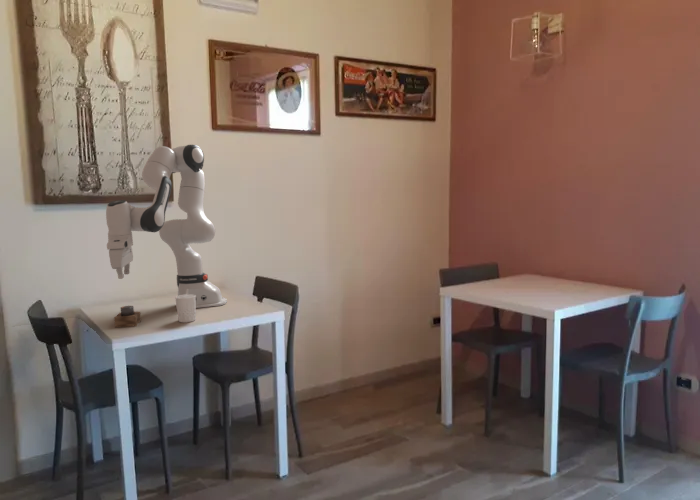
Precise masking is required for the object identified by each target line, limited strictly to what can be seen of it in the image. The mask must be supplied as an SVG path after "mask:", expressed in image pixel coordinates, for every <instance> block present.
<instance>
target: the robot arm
mask: <svg viewBox="0 0 700 500" xmlns="http://www.w3.org/2000/svg"><path fill="white" fill-rule="evenodd" d="M204 163H205V155H204V151H203V150H202V148H201V147H200V146H199V145H196V144H187V145H180V146H177V147H173V148H170V147H168V146H165V145H162V146H161V145H160V146H157V148H155V149H154V150H153V152H152V153H151V155H150V156H149V158H148V159H147V161H146V163H145V165H144V167H143V169H142V173H141V176H142V177H141V178H142V180H143V181H144V183H145V184H146V185H147V186H148V188H149V187H150V188H151V189H152V190H155V193H154V196H153V200H152V203H151V205H150V206H147V207H135V206H133V205H131V204H129V203H128V201H127V200H125V199H119V200H113V201H110V202H109V203H107V206H106V211H105V216H106V217H105V218H106V219H105V220H106V225H107V228H108V232H107V244H106V250H108V257H109V262H110V267H111V269H112V270H116V273H117V277H118V279H120V280H122V279H124V277H125V276H124V275H129V274H130V273H131V272H130V269H131V263H132V262H133V260H134V254H133V248H132V246H133V245H134V241H133V232H147V233H157V232H158V233H159V236H160V239H161V241H163V242H164V243H166V245H168V247H170V249H171V250H172V253H173V255H174V258H175V263H176V269H177V271H176V272H177V274H176V286H177V296H179V295H185V294H193V295H196V309H199V308H208V307H209V308H211V307H218V306H219V307H220V306H223V305H225V304H227V301H228V299H227V297H224V296H222V293H221V292H222V291H221V290H220V288H219V287H218V286H217V285H215V284H213V283H212V282H211V281H209V277H208V274H207V273H205V272H203V271H204V270H203V257H202V255H201V254H200V253H199V252H197V251H195V250H194V249H193V248H192V247H191V244H205V243H209V242H211V241H213V239H214V238H215V235H216V228H215V225H214V223H213V222H212V221H211V220H210V219H209V218H208V217H207V215H206V213H205V209H204V200H205V189H206V184H205V183H206V180H205V179H206V178H205V173H204V171H203V170H202V169H203V167H204ZM175 173H180V178H181V179H180V183H179V184H180V185H179V191H178V200H177V206H178V207H179V209H180V210H181V211H183V212H184V213H186V214H187V215H186V219H185V218H184V219H182V218H181V219H178V218H177V219H176V218H175V219H170V220H166V211H167V208H168V205H169V202H170V201H169V200H170V196H171V193H172V185H173V183H172V181H171V175H172V174H175Z"/></svg>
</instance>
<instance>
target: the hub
mask: <svg viewBox="0 0 700 500" xmlns="http://www.w3.org/2000/svg"><path fill="white" fill-rule="evenodd" d="M141 316H142V315H141V311H134V314H133V315H130V316H121V312H119V313H118V314H117V315H115V316H114V318H113V319H114V328H127V327H128V328H129V327H137V326H138V325H139V323H140V322H141V320H142V319H141V318H142V317H141Z"/></svg>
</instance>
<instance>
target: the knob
mask: <svg viewBox="0 0 700 500" xmlns="http://www.w3.org/2000/svg"><path fill="white" fill-rule="evenodd" d="M134 310H135V309H134V305H125V306H124V305H123V306H121V307H120V313H121V316H130V315H133V314H134V312H135V311H134Z"/></svg>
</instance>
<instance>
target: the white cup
mask: <svg viewBox="0 0 700 500" xmlns="http://www.w3.org/2000/svg"><path fill="white" fill-rule="evenodd" d="M175 306H176V312H177V313H176V314H177V320H178V322H179V323H191V322H195V321H196V320H197V318H196V317H197V315H196V313H197V308H196V295H193V294H185V295H179V296H178V295H176V296H175Z"/></svg>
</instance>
